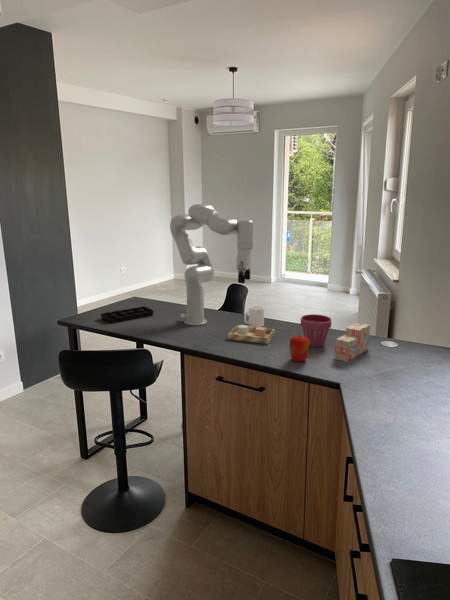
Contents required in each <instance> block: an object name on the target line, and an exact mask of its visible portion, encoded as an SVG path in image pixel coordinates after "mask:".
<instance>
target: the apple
mask: <svg viewBox="0 0 450 600" xmlns="http://www.w3.org/2000/svg"><path fill="white" fill-rule="evenodd" d="M309 344H310V341H309V339H308V338H307V337H304V335H301V334H300V333H299V335H294V336H291V338H290V339H289V347H290V349H289V350H290V358H291V359H292V360H293V361H294V362H304V361H305V360H307V359H308V357H309V356H308V355H309V348H310V346H309Z"/></svg>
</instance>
